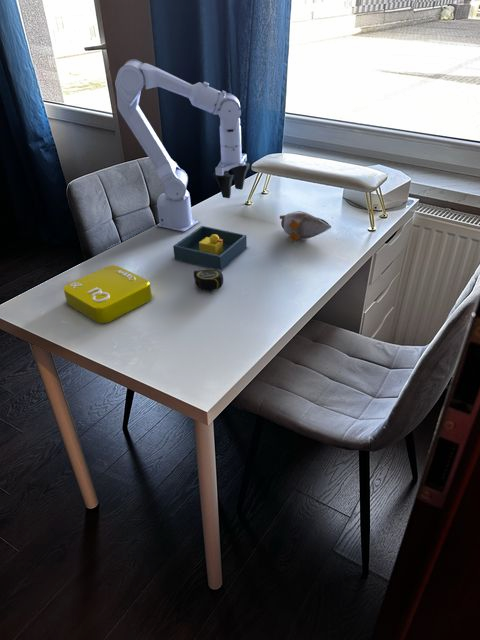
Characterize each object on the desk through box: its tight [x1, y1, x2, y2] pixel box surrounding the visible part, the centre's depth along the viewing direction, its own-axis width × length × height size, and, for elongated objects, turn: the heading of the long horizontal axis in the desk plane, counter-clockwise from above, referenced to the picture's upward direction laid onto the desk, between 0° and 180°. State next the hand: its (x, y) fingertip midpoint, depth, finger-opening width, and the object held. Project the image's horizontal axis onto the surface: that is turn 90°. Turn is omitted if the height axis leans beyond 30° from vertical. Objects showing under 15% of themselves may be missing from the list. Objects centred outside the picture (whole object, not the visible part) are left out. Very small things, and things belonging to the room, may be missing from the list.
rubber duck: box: [199, 234, 223, 255], centre depth 134 cm, size 6×4×5 cm, turn 64°
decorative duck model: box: [279, 210, 332, 243], centre depth 143 cm, size 15×8×15 cm
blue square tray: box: [172, 225, 248, 271], centre depth 135 cm, size 14×14×4 cm
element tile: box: [62, 264, 153, 325], centre depth 116 cm, size 15×15×5 cm
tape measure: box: [193, 268, 224, 292], centre depth 121 cm, size 7×7×4 cm
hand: (232, 193), depth 146 cm, fingers open, 7 cm apart
